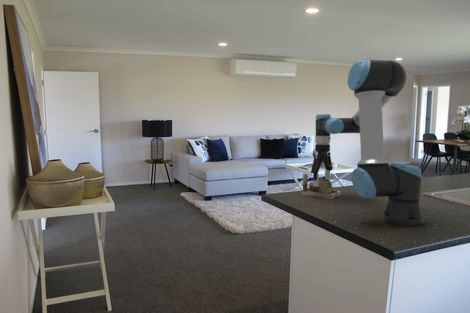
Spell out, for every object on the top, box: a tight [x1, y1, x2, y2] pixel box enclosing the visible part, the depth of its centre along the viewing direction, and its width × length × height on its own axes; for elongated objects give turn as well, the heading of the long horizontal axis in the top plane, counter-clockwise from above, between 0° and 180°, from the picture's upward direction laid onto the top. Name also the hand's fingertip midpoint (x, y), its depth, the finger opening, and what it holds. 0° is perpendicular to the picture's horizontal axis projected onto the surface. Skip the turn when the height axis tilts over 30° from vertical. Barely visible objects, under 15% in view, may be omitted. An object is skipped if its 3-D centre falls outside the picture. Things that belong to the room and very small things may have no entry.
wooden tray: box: [300, 173, 343, 200], centre depth 198 cm, size 13×17×11 cm
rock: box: [308, 178, 334, 194], centre depth 198 cm, size 12×7×10 cm, turn 45°
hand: (321, 184), depth 198 cm, fingers open, 13 cm apart
